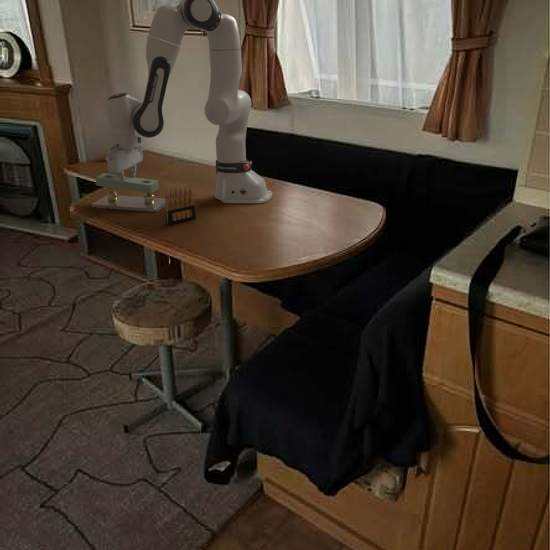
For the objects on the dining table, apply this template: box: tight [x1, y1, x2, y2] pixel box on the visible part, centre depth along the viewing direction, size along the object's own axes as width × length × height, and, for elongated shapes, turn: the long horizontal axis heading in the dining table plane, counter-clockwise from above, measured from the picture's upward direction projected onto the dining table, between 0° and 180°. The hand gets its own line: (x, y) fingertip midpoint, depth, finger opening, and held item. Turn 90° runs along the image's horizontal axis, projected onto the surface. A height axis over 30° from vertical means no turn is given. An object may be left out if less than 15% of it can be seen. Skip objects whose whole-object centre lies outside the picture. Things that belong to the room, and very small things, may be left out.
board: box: [95, 172, 160, 194], centre depth 199 cm, size 22×6×3 cm, turn 76°
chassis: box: [91, 187, 170, 213], centre depth 201 cm, size 26×12×7 cm, turn 77°
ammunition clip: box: [164, 185, 197, 227], centre depth 183 cm, size 11×2×12 cm, turn 128°
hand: (128, 179), depth 198 cm, fingers closed on board, 6 cm apart
